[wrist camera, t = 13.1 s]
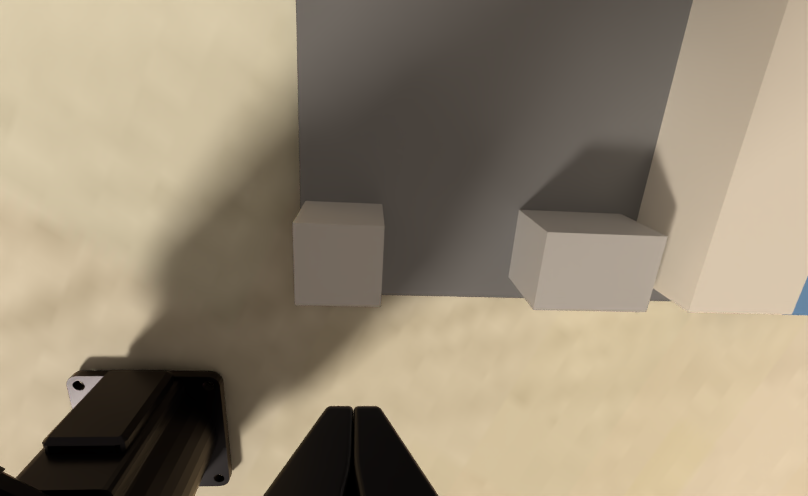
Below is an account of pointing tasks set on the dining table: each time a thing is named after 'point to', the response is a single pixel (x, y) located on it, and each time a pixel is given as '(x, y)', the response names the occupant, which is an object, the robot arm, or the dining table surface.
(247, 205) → the dining table surface
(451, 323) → the dining table surface
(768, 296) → the long white plank
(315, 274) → the miniature block city
